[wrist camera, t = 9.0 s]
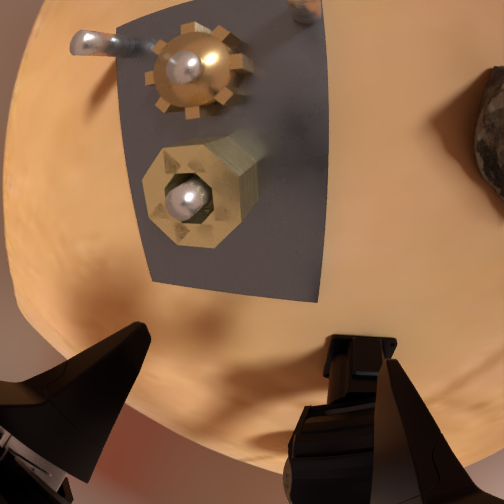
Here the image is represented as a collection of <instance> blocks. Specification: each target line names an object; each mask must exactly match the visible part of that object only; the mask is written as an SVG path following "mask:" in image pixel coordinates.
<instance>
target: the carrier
mask: <svg viewBox="0 0 504 504" xmlns="http://www.w3.org/2000/svg"><path fill="white" fill-rule="evenodd" d="M70 53H71V54H72V55H82V56H107V57H116V61H117V84H118V98H119V110H120V120H121V129H122V137H123V145H124V152H125V159H126V165H127V171H128V177H129V183H130V188H131V194H132V199H133V204H134V209H135V213H136V218H137V223H138V227H139V231H140V236H141V240H142V244H143V248H144V252H145V256H146V260H147V263H148V267H149V271H150V274H151V278H152V281H154V282H160V283H166V284H172V285H178V286H185V287H192V288H198V289H205V290H212V291H220V292H227V293H235V294H242V295H250V296H259V297H267V298H276V299H285V300H294V301H304V302H314V303H318V295H319V286H320V277H321V268H322V257H323V246H324V234H325V220H326V205H327V184H328V152H329V103H328V73H327V55H326V40H325V28H324V18H323V9H322V0H193V1H190V2H186V3H182V4H179V5H176V6H172V7H169V8H166V9H163V10H160V11H157V12H154V13H151V14H149V15H146V16H143V17H141V18H138V19H136V20H133V21H131V22H129V23H126V24H124V25H122V26H120V27H117V28H116V34H110V33H104V32H96V31H88V30H80V31H78V32H77V33H76V34H75V35H74V36H73V38H72V40H71V43H70ZM221 136H229V137H230V138H232V139H233V140H234V141H235V142H236V143H237V144H238V145H239V146H240V147H241V148H243V149H244V150H245V151H246V152H247V153H248V154H249V155H250V156H251V157H252V158H253V159H254V160H255V161H256V162H257V176H258V200H257V201H256V203H255V204H254V205H253V207H252V208H251V210H250V211H249V212H248V214H247V215H246V216H245V218H244V219H243V221H242V222H241V223H240V224H239V225H238V226H237V227H236V228H235V229H234V230H233V231H232V232H231V233H229V234H228V235H227V236H226V237H225V238H224V239H223V240H222V241H221V242H220V243H219V244H218V245H217V246H216V247H215V248H205V247H193V246H182V245H177V244H176V243H175V242H174V241H173V240H171V239H170V238H169V237H168V236H167V235H166V234H165V233H164V232H163V231H162V230H161V229H160V228H159V227H158V226H157V225H156V224H155V223H154V222H153V221H152V220H151V219H149V215H148V210H147V205H146V200H145V194H144V189H143V183H142V179H143V177H144V176H145V174H146V173H147V171H148V169H149V168H150V166H151V165H152V163H153V162H154V160H155V159H156V157H157V156H158V154H159V153H160V151H161V150H162V148H164V147H167V146H171V145H174V144H177V143H180V142H183V141H187V140H190V139H194V138H205V137H221ZM209 201H213V194H212V188H211V187H210V186H209V185H208V184H207V183H206V182H205V181H204V180H202V179H201V178H200V177H199V176H198V175H197V174H196V173H194V177H193V178H191V179H189V180H188V181H186V182H184V183H183V184H181V185H179V186H178V187H176V188H175V189H173V190H171V191H170V192H169V193H168V194H167V196H166V199H165V206H166V209H167V211H168V213H169V214H170V215H171V216H172V217H173V218H175V219H177V220H180V221H185V220H188V219H190V218H191V217H192V216H193V215H194V214H196V213H197V212H198V211H199V210H200V209H201V208H202V207H203V206H205V205H206V204H207V203H208V202H209Z"/></svg>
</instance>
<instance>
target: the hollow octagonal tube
mask: <svg viewBox="0 0 504 504" xmlns="http://www.w3.org/2000/svg"><path fill="white" fill-rule="evenodd" d="M194 173H196V174H197V175H198V176H199V177H200V178H201V179H202V180H204V181H205V182H206V183H207V184H208V185H209V186H210V187H211V188H212V194H213V201H209V202H208V203H207V204H206V205H205V206H203V207H202V208H201V209H200V210H199V211H198V212H197V213H196V214H194V215H193V216H192V217H191V218H190V219H188V220H185V221H180V220H177V219H175V218H173V217H172V216H171V215H170V214H169V213H168V211H167V209H166V206H165V199H166V196H167V194H168V193H169V192H170V191H171V190H173V189H175V188H176V187H178V186H179V185H181V184H183V183H184V182H186V181H188V180H189V179H191V178H193V177H194ZM142 183H143V189H144V194H145V200H146V205H147V210H148V215H149V219H151V220H152V221H153V222H154V223H155V224H156V225H157V226H158V227H159V228H160V229H161V230H162V231H163V232H164V233H165V234H166V235H167V236H168V237H169V238H170V239H171V240H173V241H174V242H175V243H176V244H177V245H182V246H193V247H205V248H215V247H216V246H217V245H218V244H219V243H220V242H221V241H222V240H223V239H224V238H225V237H226V236H227V235H228V234H229V233H231V232H232V231H233V230H234V229H235V228H236V227H237V226H238V225H239V224H240V223H241V222H242V221H243V219H244V218H245V216H246V215H247V214H248V212H249V211H250V210H251V208H252V207H253V205H254V204H255V203H256V201H257V200H258V176H257V162H256V161H255V160H254V159H253V158H252V157H251V156H250V155H249V154H248V153H247V152H246V151H245V150H244V149H243V148H241V147H240V146H239V145H238V144H237V143H236V142H235V141H234V140H233V139H232V138H230V137H229V136H221V137H205V138H194V139H190V140H187V141H183V142H180V143H177V144H174V145H171V146H167V147H164V148H162V150H161V151H160V153H159V154H158V156H157V157H156V159H155V160H154V162H153V163H152V165H151V166H150V168H149V169H148V171H147V173H146V174H145V176H144V177H143V179H142Z"/></svg>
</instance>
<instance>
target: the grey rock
mask: <svg viewBox="0 0 504 504" xmlns="http://www.w3.org/2000/svg"><path fill="white" fill-rule="evenodd" d="M474 152H475V158H476V161H477V164H478V167H479V170H480V173H481V175H482V177H483V178H484V180H485V181H487V182H488V183H489V184H490V185H491V186H492V187H494V188H495V190H496V193H497V195H498V196H500V197H501V198H502V200H503V202H504V66H499V67H498V66H494V67H493V69H492V76H491V80H490V81H489V83H488V84H487V85H486V87H485V90H484V93H483V98H482V102H481V105H480V109H479V113H478V121H477V125H476V128H475V131H474Z"/></svg>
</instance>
